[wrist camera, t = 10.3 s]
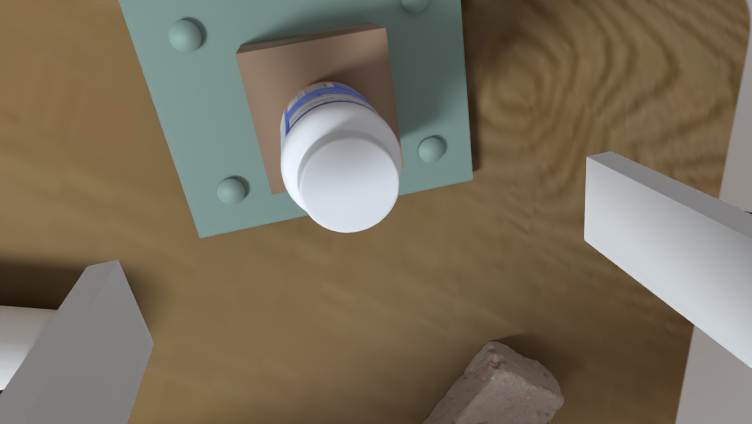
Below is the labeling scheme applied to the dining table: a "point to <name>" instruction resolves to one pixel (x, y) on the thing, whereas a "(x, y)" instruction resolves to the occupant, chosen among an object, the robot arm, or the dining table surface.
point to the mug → (19, 336)
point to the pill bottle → (339, 157)
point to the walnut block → (313, 79)
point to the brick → (500, 391)
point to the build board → (231, 110)
